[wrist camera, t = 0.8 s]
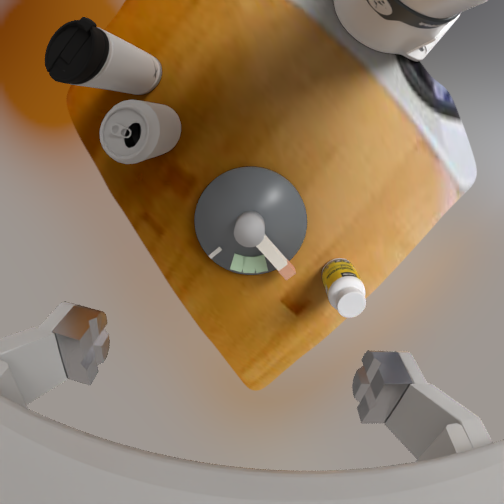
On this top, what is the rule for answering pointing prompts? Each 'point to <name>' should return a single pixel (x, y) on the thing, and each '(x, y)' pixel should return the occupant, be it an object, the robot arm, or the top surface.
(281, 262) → the needle
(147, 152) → the can
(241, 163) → the top surface
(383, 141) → the top surface
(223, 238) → the dial plate
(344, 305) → the supplement bottle
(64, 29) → the travel mug
